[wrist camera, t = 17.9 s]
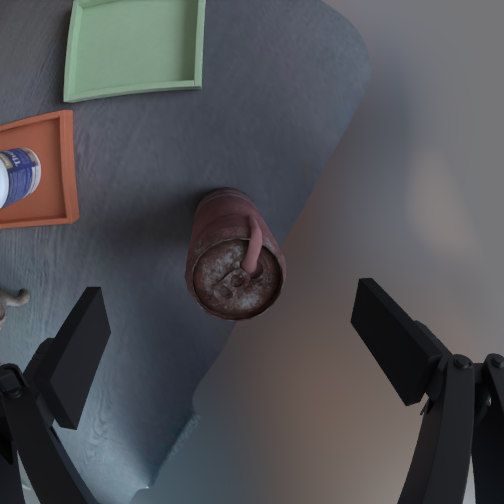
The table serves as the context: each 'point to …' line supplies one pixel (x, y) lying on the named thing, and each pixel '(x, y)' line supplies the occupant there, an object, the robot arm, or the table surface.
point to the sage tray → (133, 47)
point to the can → (233, 258)
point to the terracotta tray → (44, 170)
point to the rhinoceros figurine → (11, 302)
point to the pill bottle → (18, 175)
